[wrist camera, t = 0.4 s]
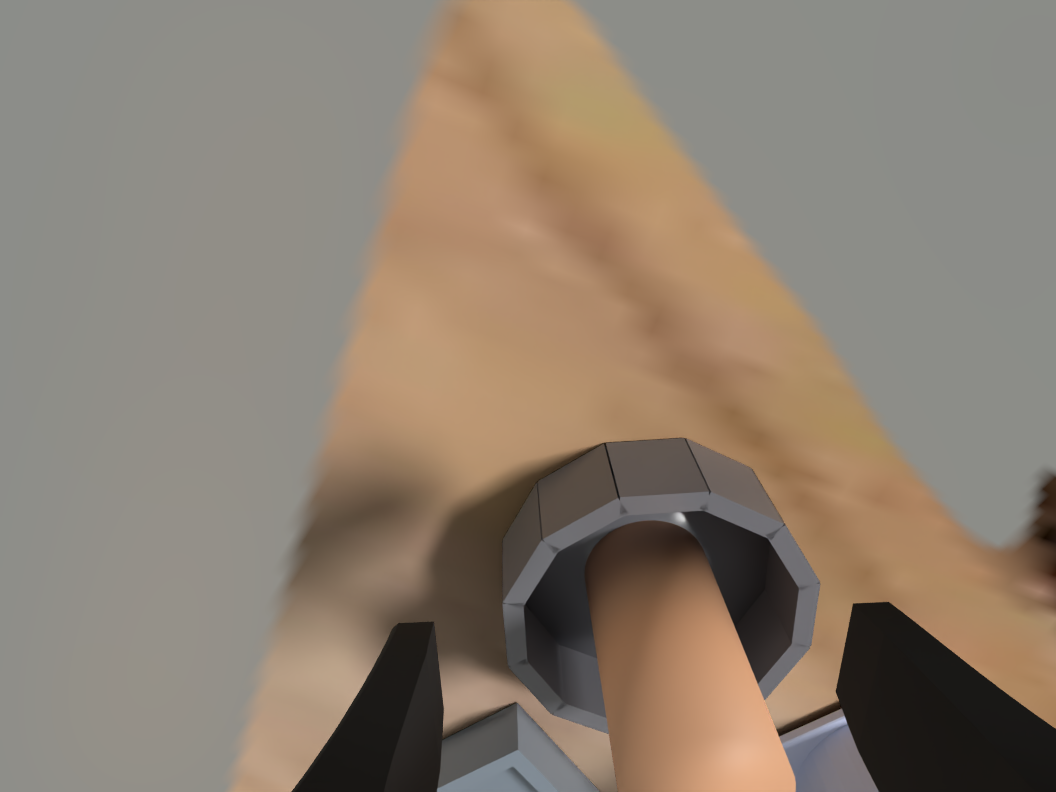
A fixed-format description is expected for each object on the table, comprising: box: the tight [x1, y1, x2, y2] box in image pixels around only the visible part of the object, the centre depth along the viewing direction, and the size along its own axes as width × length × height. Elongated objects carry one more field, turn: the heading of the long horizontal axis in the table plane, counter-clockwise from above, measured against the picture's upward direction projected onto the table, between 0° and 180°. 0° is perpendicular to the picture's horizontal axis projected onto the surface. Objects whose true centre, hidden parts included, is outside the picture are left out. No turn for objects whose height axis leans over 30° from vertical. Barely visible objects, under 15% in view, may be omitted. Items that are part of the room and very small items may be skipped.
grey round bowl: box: [502, 438, 820, 734], centre depth 23 cm, size 9×9×3 cm
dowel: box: [584, 520, 796, 792], centre depth 20 cm, size 4×4×8 cm
